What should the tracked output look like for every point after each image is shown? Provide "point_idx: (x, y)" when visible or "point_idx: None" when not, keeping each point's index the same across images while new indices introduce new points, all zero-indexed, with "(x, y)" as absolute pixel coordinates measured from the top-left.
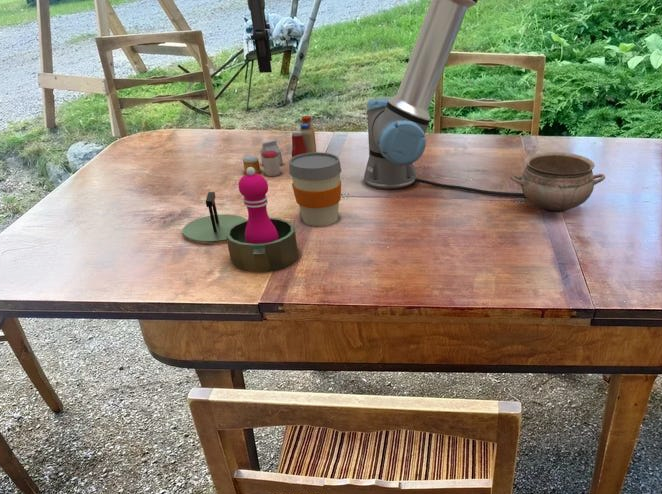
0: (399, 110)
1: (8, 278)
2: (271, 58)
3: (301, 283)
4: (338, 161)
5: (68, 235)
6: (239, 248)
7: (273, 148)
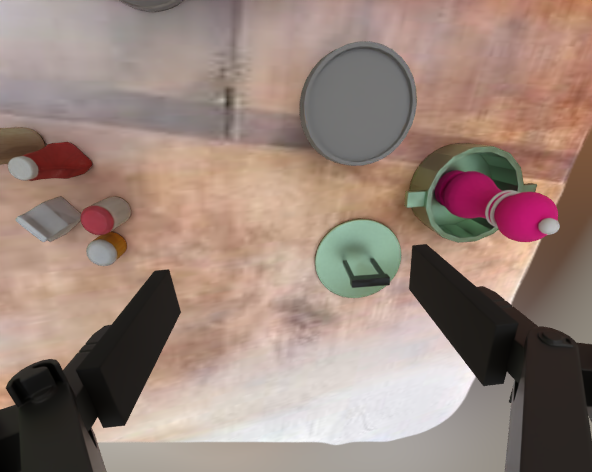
0: None
1: (426, 408)
2: (165, 274)
3: (539, 134)
4: (380, 44)
5: (339, 397)
6: None
7: (43, 218)
